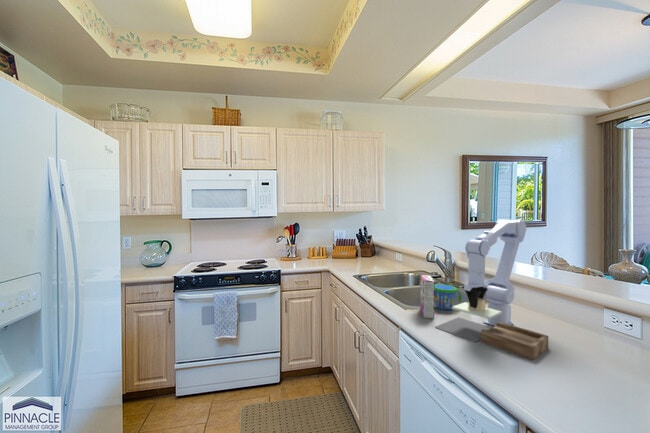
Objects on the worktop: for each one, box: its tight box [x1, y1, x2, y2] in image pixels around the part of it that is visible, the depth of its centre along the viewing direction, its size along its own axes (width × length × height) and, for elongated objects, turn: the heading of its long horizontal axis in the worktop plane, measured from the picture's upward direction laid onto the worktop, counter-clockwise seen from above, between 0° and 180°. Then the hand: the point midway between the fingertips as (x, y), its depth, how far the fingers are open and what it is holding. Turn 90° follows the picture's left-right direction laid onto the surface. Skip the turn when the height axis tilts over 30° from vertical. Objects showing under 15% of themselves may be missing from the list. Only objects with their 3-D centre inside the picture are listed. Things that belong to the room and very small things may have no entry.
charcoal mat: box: [434, 316, 493, 343], centre depth 118 cm, size 18×16×1 cm
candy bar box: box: [419, 274, 436, 319], centre depth 134 cm, size 11×5×16 cm, turn 168°
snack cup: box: [434, 283, 463, 311], centre depth 143 cm, size 16×10×10 cm
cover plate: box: [451, 298, 502, 320], centre depth 115 cm, size 10×14×5 cm
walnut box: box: [480, 321, 549, 361], centre depth 105 cm, size 14×16×4 cm
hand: (475, 306), depth 115 cm, fingers closed on cover plate, 3 cm apart
